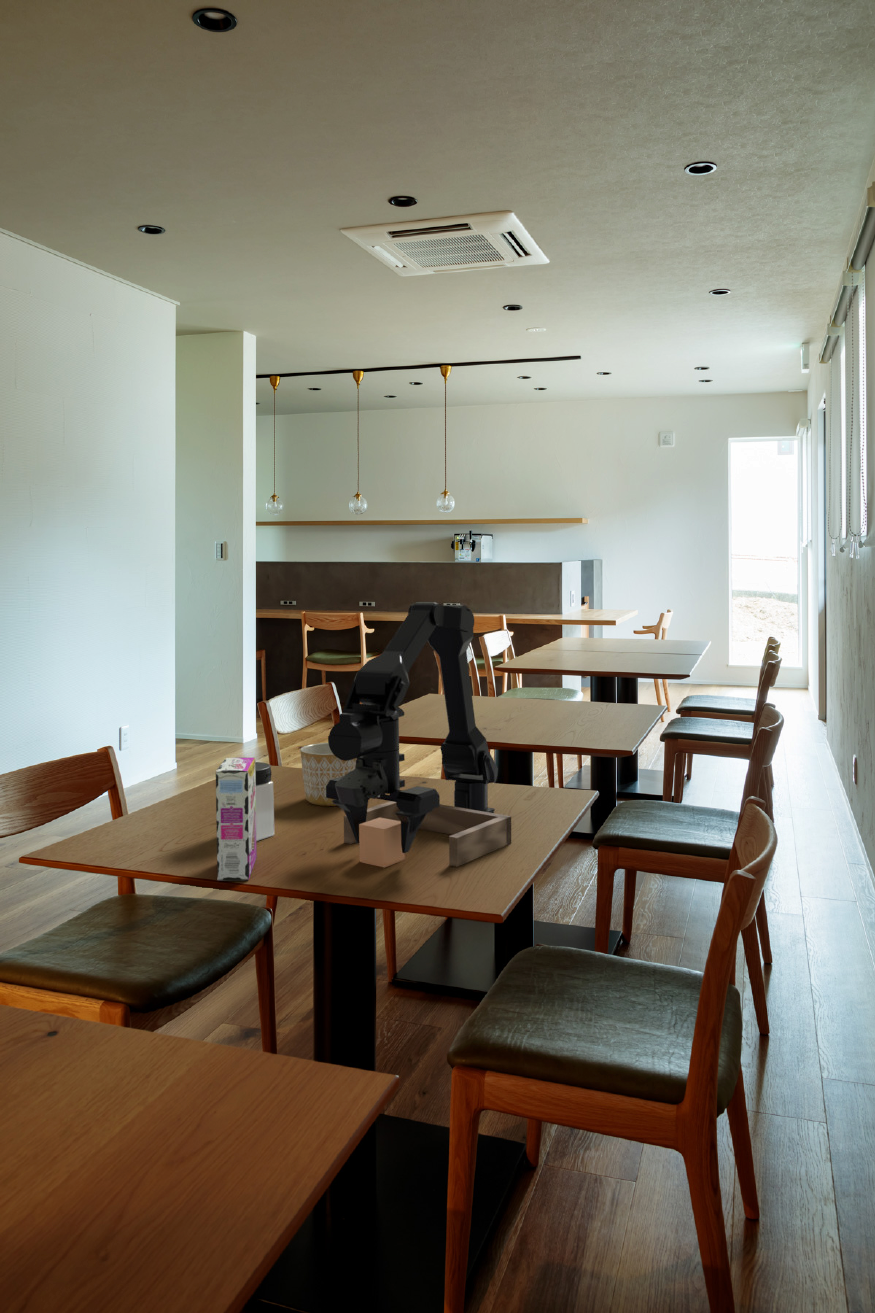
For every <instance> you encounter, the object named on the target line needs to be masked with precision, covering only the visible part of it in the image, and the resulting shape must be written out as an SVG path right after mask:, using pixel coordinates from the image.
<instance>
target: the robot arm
mask: <svg viewBox="0 0 875 1313" xmlns="http://www.w3.org/2000/svg"><path fill="white" fill-rule="evenodd" d="M474 626H475V616H474V613H473V612H472V610H471V608H469V607H468V606H467V605H464V604H440V603H438V602H431V601H430V602H428V601H427V602H426V601H424V602H423V601H422V602H421V601H419V602H418V601H417V602H415V603H412V604H411V605H410V606H409V608H408V613H407V616H406V617H405V619H404V620H403V622H402V623H401V625H400V626H399V628H398V629H397V631H396V632H395V634H394V635H393V636H392V638H391V640H390V641H389V643H388V644H387V646H386V647H385V649H384V651H383V652H382V653H380V654H379V655H377V656H375V657H373V658H371V659H369V660H368V661H366V663H364V664H363V665H362V667H361V668H360V669H359V670H358V672H356V674H355V676H354V679H353V682H352V684H351V687H350V689H349V692H348V695H347V697H346V700H345V703H344V706H343V710H342V713H339V718H338V720H339V722H337V723H335V724H334V725H333V726H332V727H331V729H330V731H329V734H328V736H327V743H328V744H329V747H330V750H331V751H332V753H333V754H334V755H335V756H336V757H337V758H339V759H341V760H344V761H348V760H352V759H355V758H357V760H356V767H355V769H354V770H353V771H350V772H349V773H347V774H346V775H345V776H342V777H338V778H335V779H331V780H329V782H328V784H327V786H326V798H330V799H335V800H332V803H333V804H336V805H338V806H337V807H339V808H340V809H342V810H343V812H344V814H345V815H346V816H347V818H348V821H349V823H350V826H351V829H352V832H353V834H354V837H355V840H356V842H355V843H356V844H357V845H358V844H359V824H362V823H365V822H366V817H367V809H368V806H369V800H370V799H371V800H372V799H373V800H375V799H376V800H382V801H387V802H390V801H393V802H396V806H397V807H398V808H399V810H400V811H399V812H396V815H397V817H398V818H399V819H400V821H401V847H402V853H405V854H407V853H409V851H410V849H411V847H412V844H413V842H414V840H415V838H416V836H417V834H418V831H419V827H420V825H421V823H422V821H423V819H424V818H425V816H426V814H427V813H429V812H431V811H433V809H434V808H437V807H440V803H441V802H440V793H439V792H438V790H437V789H436V788H433V787H432V788H431V787H427V786H426V787H425V786H421V785H420V786H419V785H417V786H414V787H411V788H407V789H402V790H401V788H405V786H406V780H404V779H400V778H401V776H400V762H404V761H405V754H404V753H400V719H399V718H401V717H404V716H405V714H406V713H405V711H404V710H403V709H402V708H401V707H400V704H401V703H402V701H403V700H404V698H405V696H406V694H407V691H408V689H409V687H410V679H409V672H410V669H411V668H412V666H413V665H414V663H415V661H416V660H417V658H418V657H419V655H420V653H421V651H422V650H423V648H424V646H425V645H426V644H427V643H428V644H429V646H430V647H431V648H432V650H433V651H434V652H435V653H436V655H438V657H439V664H440V673H441V678H442V679H441V681H442V688H443V695H444V702H445V709H446V717H447V718H446V719H447V724H448V725H447V726H448V734H447V736H446V738H445V740H444V741H443V742H442V743H441V745H440V752H441V764H442V768H443V773H444V779H445V781H454V791H453V806H454V807H459V808H465V809H471V810H477V811H483V812H489V813H494V812H496V811H495V808H492V807H488V805H489V804H488V803H489V802H488V798H489V797H488V795H489V794H488V792H489V791H488V789H489V788H488V785H489V784H495V783H496V782H497V779H498V774H499V773H498V771H499V768H498V766H497V764H496V762H495V760H494V758H493V756H492V754H491V753H490V751H489V747H488V741H487V738H486V737H485V735H483V733H482V732H481V731H480V729H479V728H478V727H477V726H476V725H477V724H476V718H475V710H474V701H473V693H472V685H471V679H470V670H469V662H468V652H467V650H468V648H469V646H470V645H471V642H472V640H473V639H474V636H475V635H474V628H475V627H474Z"/></svg>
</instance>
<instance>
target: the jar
mask: <svg viewBox="0 0 875 1313" xmlns="http://www.w3.org/2000/svg"><path fill="white" fill-rule="evenodd" d="M255 772H256V842H260V841H261V840H264V839H267V838H271V837H273V836H275V809H274V808H275V806H274V805H275V803H274V802H275V800H274V782H273V781H272V775H273V774H272V765H271V764H269V763H266V762H260V761H255Z"/></svg>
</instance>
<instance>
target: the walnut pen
mask: <svg viewBox="0 0 875 1313" xmlns="http://www.w3.org/2000/svg"><path fill="white" fill-rule="evenodd" d="M399 811H400V810H399V808H398V807H397V806H396V802H393V801H387V802H384V803H381V804H377V805H374V806H371V807H369V808H368V807H367V817H366V822H368V821H371V820H374V819H377V818H385V819H390V820H396V821H400V819H399V818H398V817H397V815H396V812H399ZM419 829H421V830H426V831H430V832H435V833H441V834H446V835H449V836H448V845H449V846H448V850H449V851H448V858H449V861H448V863H449V864H448V866H452V867H456V868H458V867H460V866H462V865H464V864H467V863H469V862H471V861H474V860H476V859H478V858H481V857H483V856H484V855H488V854H490V853H492V852H495V851H496V850H499V849H501V848H504V847H506V846H509V845H510V844H512V816H511V815H506V814H505V815H504V814H500V813H494V812H491V813H489V812H483V811H477V810H471V809H465V808H459V807H454V805H447V804H440V807H437V808H434V809H433V811H431V812H429V813H427V814H426V816H425V818H424V819H423V821H422V823H421V825H420V827H419ZM419 829H418V830H419ZM345 843H346V844H349V845H352V844H355V843H357V842H356V840H355V837H354V834H353V832H352V829H351V826H350V823H349V821H348V818H347V816H346V814H345V815H343V844H345Z"/></svg>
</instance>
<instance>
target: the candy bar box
mask: <svg viewBox="0 0 875 1313" xmlns="http://www.w3.org/2000/svg"><path fill="white" fill-rule="evenodd" d="M255 762H256V757H225V758H224V760H223V761H222V762H221V764H220V765H219V766H218V768H217V769H216V770H215V806H216V808H215V814H216V819H215V820H216V865H217V866H216V872H217V875H216V879H217V881H219V882H220V881H221V882H226V881H227V882H229V881H230V882H231V881H234V882H235V881H248V880H250V877H251V875H252V872H253V869H254V866H255V864H256V860H257V856H258V855H257V841H256V772H255Z"/></svg>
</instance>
